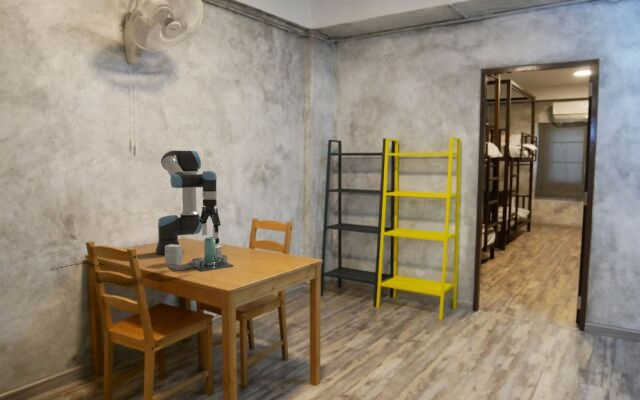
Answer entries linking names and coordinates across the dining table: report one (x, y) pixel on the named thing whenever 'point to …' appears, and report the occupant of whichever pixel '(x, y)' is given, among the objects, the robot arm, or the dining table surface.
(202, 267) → the bayonet base
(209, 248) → the teal tall rounded piece
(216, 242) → the container
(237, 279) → the dining table surface
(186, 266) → the mat
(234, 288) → the dining table surface
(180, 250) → the small box
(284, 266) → the dining table surface
